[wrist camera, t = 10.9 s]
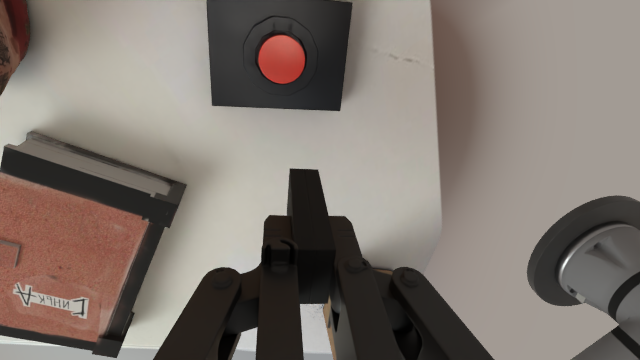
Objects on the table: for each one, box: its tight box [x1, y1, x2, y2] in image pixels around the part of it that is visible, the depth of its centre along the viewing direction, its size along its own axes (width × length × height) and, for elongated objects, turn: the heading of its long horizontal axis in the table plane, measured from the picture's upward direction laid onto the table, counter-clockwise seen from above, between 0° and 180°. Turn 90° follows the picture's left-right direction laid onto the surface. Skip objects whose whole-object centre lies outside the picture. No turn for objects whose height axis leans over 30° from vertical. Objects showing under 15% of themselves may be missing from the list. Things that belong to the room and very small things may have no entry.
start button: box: [258, 34, 305, 84], centre depth 33 cm, size 4×4×2 cm
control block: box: [207, 0, 352, 111], centre depth 36 cm, size 14×11×4 cm
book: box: [0, 131, 186, 358], centre depth 42 cm, size 26×18×5 cm
